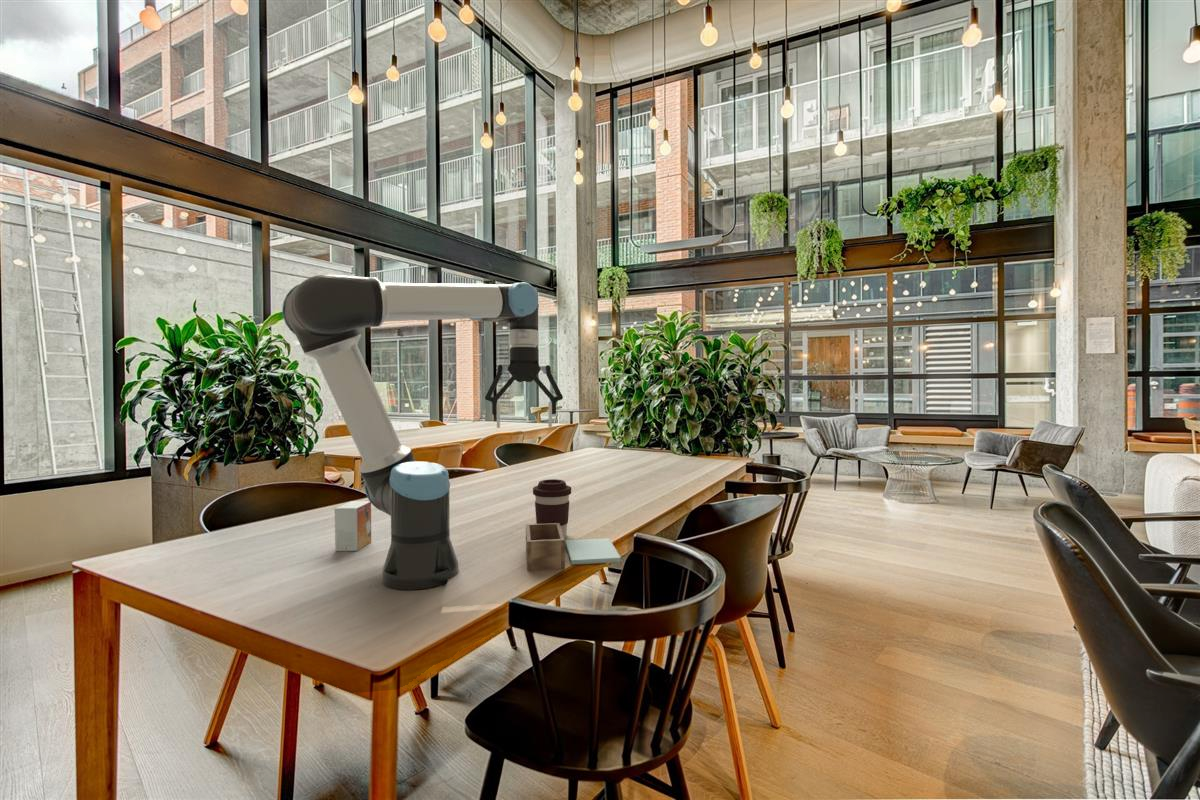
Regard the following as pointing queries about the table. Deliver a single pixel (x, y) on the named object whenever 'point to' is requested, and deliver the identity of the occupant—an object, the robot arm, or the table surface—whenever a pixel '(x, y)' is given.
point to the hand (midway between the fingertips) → (524, 427)
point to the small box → (352, 526)
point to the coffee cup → (552, 502)
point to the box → (545, 547)
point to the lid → (592, 551)
